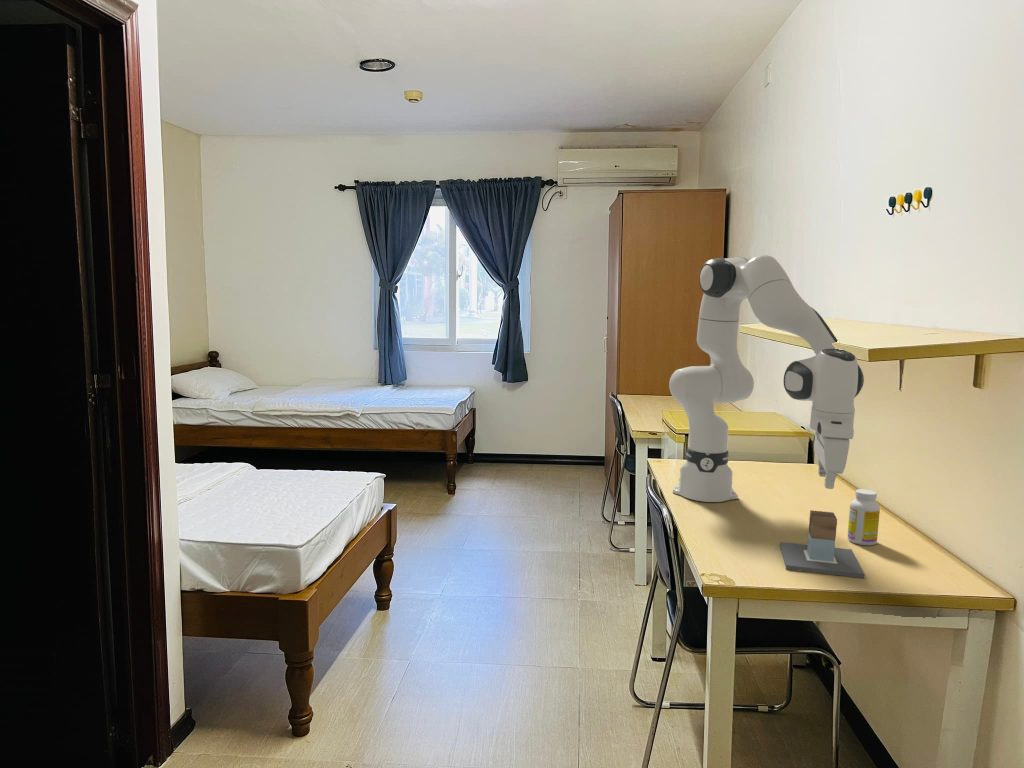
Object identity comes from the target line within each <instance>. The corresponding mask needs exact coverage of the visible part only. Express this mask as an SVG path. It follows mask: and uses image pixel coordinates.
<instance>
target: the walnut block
mask: <svg viewBox="0 0 1024 768" xmlns="http://www.w3.org/2000/svg"><path fill="white" fill-rule="evenodd" d="M809 511H810V512H809V520H808V521H809V523H808V533H810V536H811V538H814V539H824V540H834V541H835V542H836V538H837V537H836V535H837V528H838V527H837V525H838V518H837V516H836V514H835V513H834V511H821V510H811V509H810V510H809Z"/></svg>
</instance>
